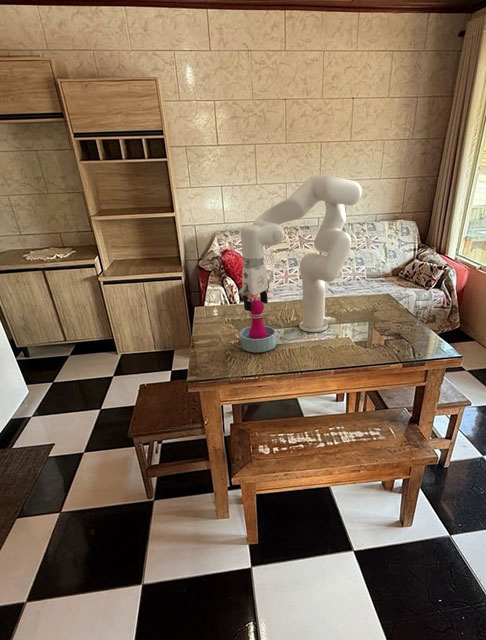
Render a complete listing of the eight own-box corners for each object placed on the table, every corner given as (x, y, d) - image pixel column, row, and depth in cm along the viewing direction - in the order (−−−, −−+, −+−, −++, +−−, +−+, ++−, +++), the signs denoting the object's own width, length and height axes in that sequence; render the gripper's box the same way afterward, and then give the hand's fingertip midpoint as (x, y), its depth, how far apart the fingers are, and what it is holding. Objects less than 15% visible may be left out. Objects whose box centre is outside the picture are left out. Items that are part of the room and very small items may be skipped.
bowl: (273, 337, 171) (272, 323, 168) (278, 351, 159) (278, 337, 156) (239, 340, 169) (238, 327, 166) (242, 355, 157) (241, 341, 154)
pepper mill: (265, 348, 160) (262, 300, 150) (247, 347, 161) (243, 299, 152) (269, 341, 166) (266, 293, 156) (252, 340, 168) (248, 293, 158)
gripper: (245, 268, 140) (249, 315, 148) (275, 257, 152) (277, 301, 160) (229, 266, 144) (234, 311, 152) (259, 255, 155) (262, 298, 164)
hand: (256, 306), depth 156 cm, fingers open, 9 cm apart
